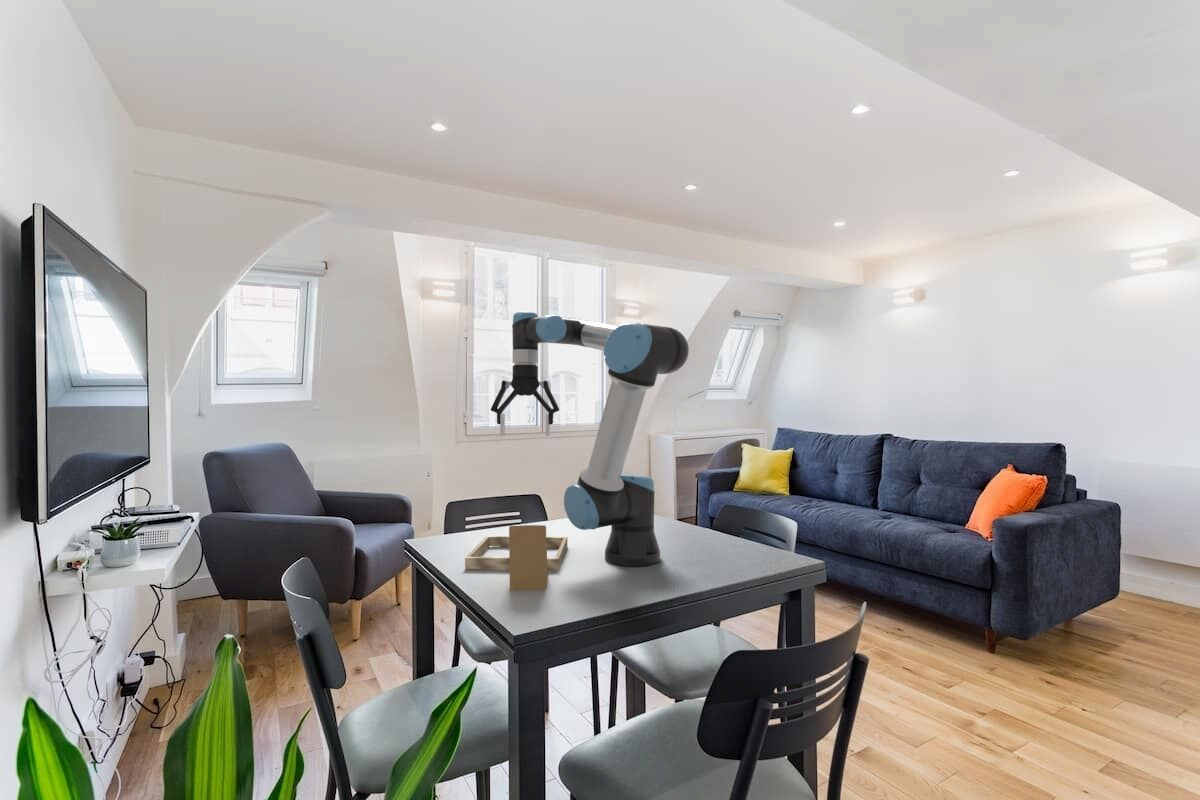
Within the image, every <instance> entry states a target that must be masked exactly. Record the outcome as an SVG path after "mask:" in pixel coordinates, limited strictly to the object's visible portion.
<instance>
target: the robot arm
mask: <svg viewBox="0 0 1200 800" xmlns="http://www.w3.org/2000/svg"><path fill="white" fill-rule="evenodd" d="M511 329H512V332H511V333H512V364H514V365H513V366H512V379H511V381H507V380H502V381H501V386H500V387H501V388H500V389H499V391H498V393H497V395H496V396H495V399H494V401H493V403H492V406H491V408H490V411H491V412H493V413H496V424H497V425H499V426H500V431H499V432H500V435H499V436H501V437H502V436H505V435H506V434H505V433H506V431H505V430H506V429H505V428H506V424H505V423H506V421H505V420H506V419H505V418H506V415H505V413H503V412H504V410H506V408H507V407H508V406H509V405H510V404H511V403H512V401H513V400H514V399H515V398H516V397H517V396H521V397H523V396H533V397H535V399H537V401H538V402H539V403H540V404H541V406H542V407H543V408H544V409H545V410H546V412H547V413H546V414H545V436H546V437H549V436H550V432H551V431H550V430H551V429H550V425H554V414H556V413H557V412H560V408H559V405H558V403H557V401H556V399H555V397H554V395H553V393H552V392H551V389H550V385H549V381H548V380H543V381H539V367H538V365H537V364H538V363H539V348H538V347H539V346H538V345H539V344H547V343H549V344H561V345H570V346H571V345H572V346H573V345H574V346H580V347H584V348H590V349H595V350H599V351H602V352H603V356H604V357H605V358H604V362H605V364H606V366H607V368H608V371H607V374H608V376H609V378H610V379H611V383H610V387H609V390H608V395H607V396H606V397H607V398H606V402H605V405H604V409H603V411H602V417H601V419H600V423H599V426H598V430H597V434H596V437H595V441H594V444H593V448H592V451H591V452H592V453H591V455H590V459H589V461H588V465H587V467H586V468H584V469H582V470H581V471H580V473H579V477H578V479H577V482H576V483H572V484H570V486H568V487H567V488H566V490H565V491H564V495H563V505H564V506H563V507H564V511H565V513H566V516H567V519H568V521H569V522H570V523H571V524H572V526H574V527H575V528H577V529H579V530H582V531H587V530H596V529H599V528H604V527H609V526H611V528H610V529H611V530H610V534H609V537H608V541H607V543H606V547H605V550H604V560H605V561H606V562H607V563H611V564H613V565H616V566H617V565H618V566H625V567H646V566H651V565H655V564H657V563H659V562H660V561H661V549H660V546H659V543H658V539H657V537H656V533H655V494H656V493H655V484H654V480H653V478H652V477H649V476H644V475H637V474H627V473H622V472H623V469H624V465H625V463H626V459H627V455H628V453H629V449H630V446H631V443H632V439H633V435H634V431H635V429H636V426H637V422H638V418H639V415H640V412H641V409H642V406H643V402H644V399H645V395H646V393H647V391H648V390H649V389H651V388H653V387H654V386H655V384H656V381H657V377H658V375H667V374H672V373H675V372H677V371H678V370H680V369H682V367H683V366H684V365H685V363H686V362H687V361H688V360H687V359H688V357H689V352H690V348H689V343H688V340H687V338H686V337H685V336H684V334H683V333H682V332H681V331H679V330H678V329H676V328H672V327H669V326H659V325H653V324H646V323H642V322H628V323H627V322H625V323H621V324H619V325H618V326H617V325H612V324H606V323H600V322H595V321H591V320H585V319H584V320H583V319H573V318H566V317H565V318H564V317H562V316H560V315H558V314H546V315H543V316H539V315H538V313H536V312H533V311H518V312H515V313H514V314H513V316H512V325H511ZM509 387H511V388H512V389H513V390H512V392H511V393H510V394H509V395H508V397H507V398H506V399H505V400H504V402H503V403H502V404H501V405H500V403H501V401H502V400H503V398H504V396H505V393H506V391H507V389H509ZM540 387H541V388H542V389H543V390H544V392H545V394H546V396H547V398H548V400H549V402H550V404H551V406H552V408H551V406H550V405H549V403H548V402H547V401H545V399H544V398H543V397H542V396H541V394H540V393H539V391H538V390H537V389H538V388H540Z"/></svg>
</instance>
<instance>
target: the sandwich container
mask: <svg viewBox="0 0 1200 800" xmlns="http://www.w3.org/2000/svg"><path fill="white" fill-rule="evenodd" d="M508 536H509V547H508V550H509V551H508V552H509V562H510V570H509V591H513V590H514V591H515V592H516V591H546V589H547V585H548V575H549V573H548V572H549V571H548V565H547V558H548V548H547V542H546V537H547V526H546V525H543V524H540V525H539V524H538V525H537V524H534V525H533V524H526V525H525V524H524V525H509V527H508Z"/></svg>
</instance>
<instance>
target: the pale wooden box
mask: <svg viewBox="0 0 1200 800" xmlns="http://www.w3.org/2000/svg"><path fill="white" fill-rule="evenodd" d="M546 542H547V549H558V550H557V551H556V555H555V557H547V565H548V570H560V567H561V565H562V562H563V559H564V557H565V554H566V552H567V549H568V537H567V536H546ZM489 546H499V547H498V548H509V535H504V536H503V535H497V536H496V535H486V536H485V537H484V539H482V540H481V542H479V543H478V544H477V545H476V546H475V547H474V548H473V549H472V550H471V551H470V552H469V553H468V554H467V556H465V557H464V570H466V569H486V570H485V571H510V562H509V557H508V556H504V557H503V556H483V555H482V554H483V553H484V554H485V552H486V551H487V550H488V549H489V548H490V547H489ZM488 547H489V548H488ZM487 548H488V549H487ZM486 549H487V550H486ZM485 550H486V551H485ZM481 555H482V556H481ZM480 556H481V557H480Z"/></svg>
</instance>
